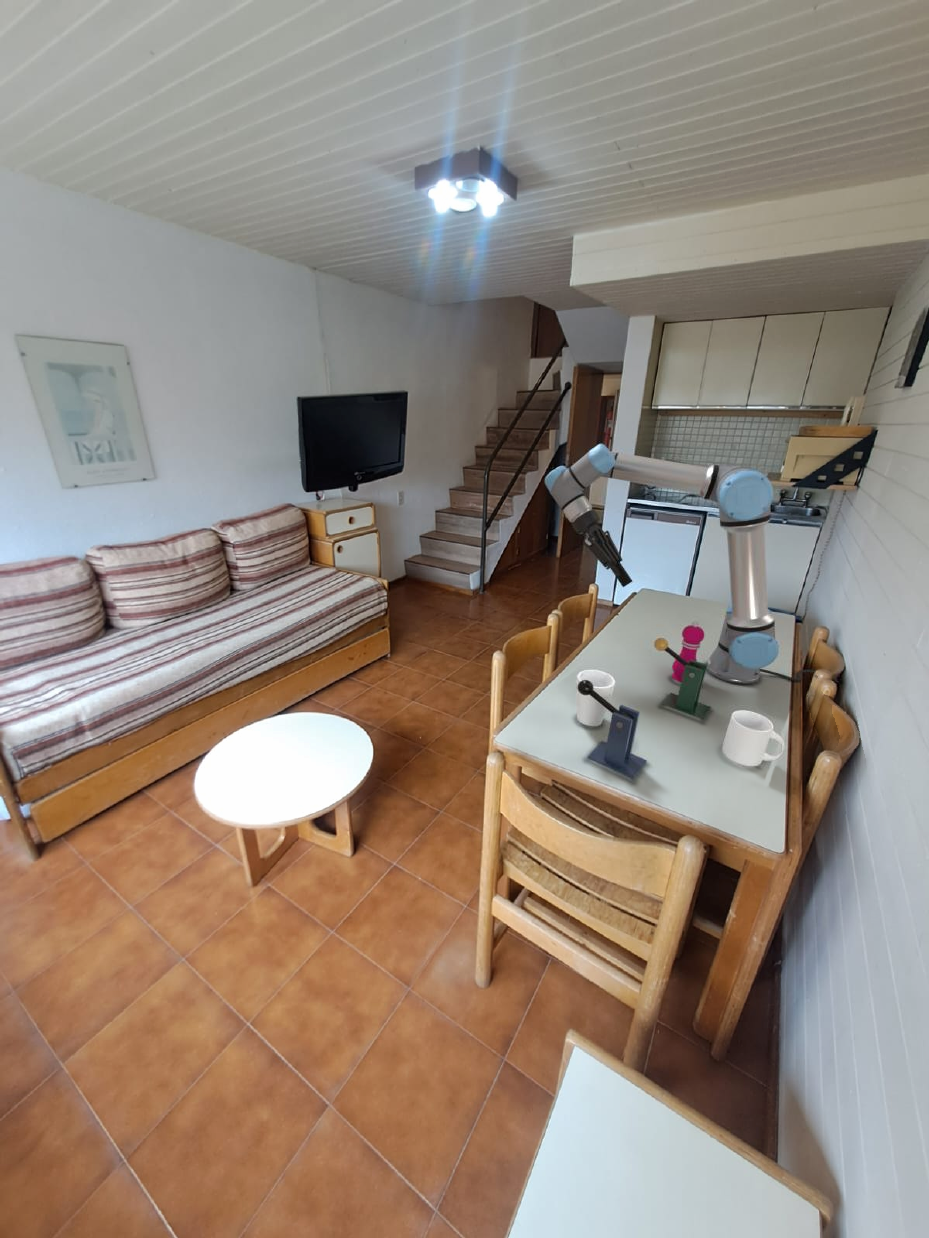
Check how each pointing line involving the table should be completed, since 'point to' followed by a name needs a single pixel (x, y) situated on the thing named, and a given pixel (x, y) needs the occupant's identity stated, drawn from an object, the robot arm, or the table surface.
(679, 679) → the pepper mill
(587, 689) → the black lever
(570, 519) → the robot arm
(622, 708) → the blue bracket
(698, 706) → the green bracket
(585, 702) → the foam cup
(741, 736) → the mug
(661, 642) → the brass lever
